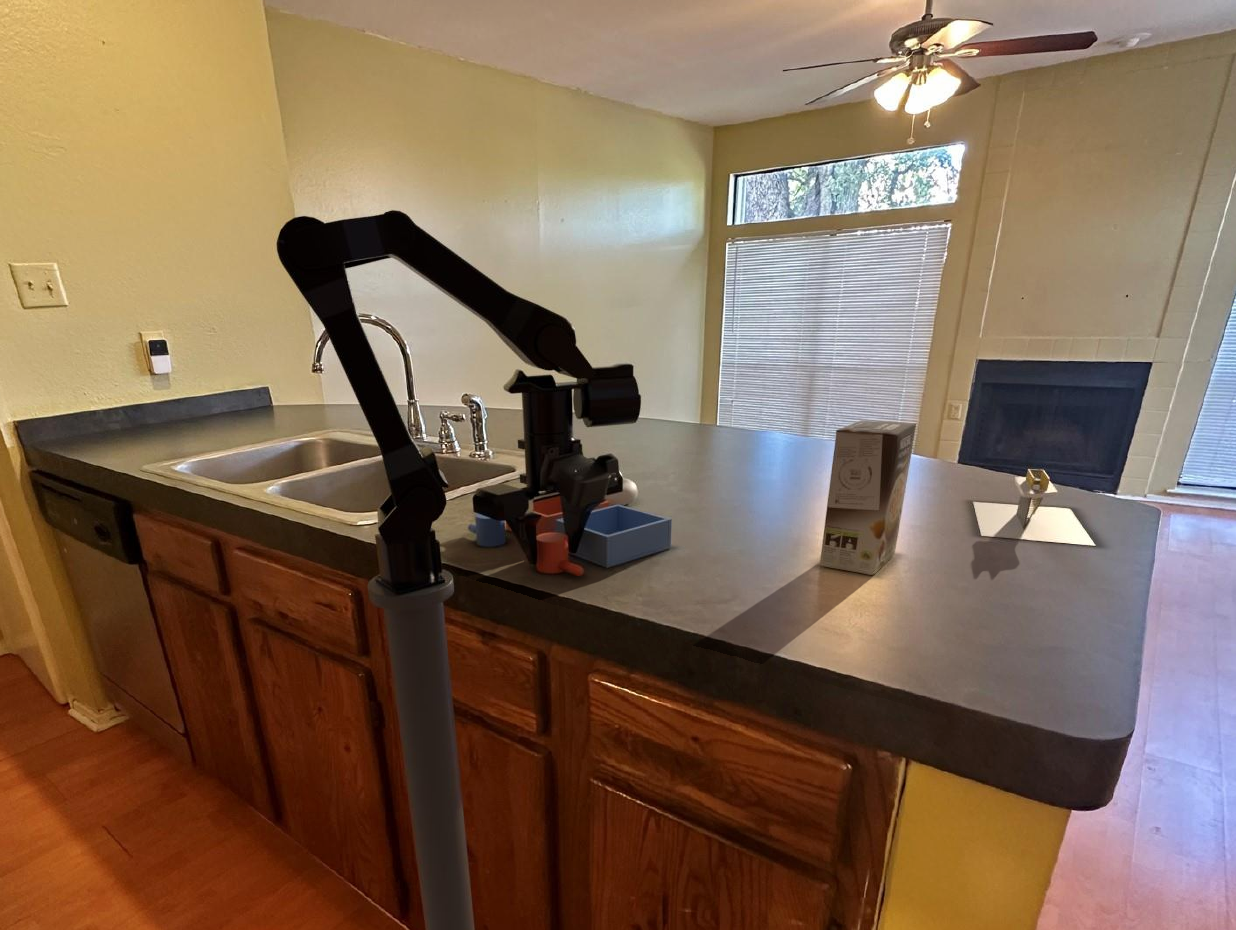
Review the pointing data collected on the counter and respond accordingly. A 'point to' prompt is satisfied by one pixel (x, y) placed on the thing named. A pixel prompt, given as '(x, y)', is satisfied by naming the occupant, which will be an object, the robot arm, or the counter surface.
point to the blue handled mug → (488, 531)
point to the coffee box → (866, 494)
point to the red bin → (551, 514)
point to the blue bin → (621, 535)
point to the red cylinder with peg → (555, 554)
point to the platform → (1031, 516)
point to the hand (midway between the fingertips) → (553, 558)
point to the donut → (623, 494)
